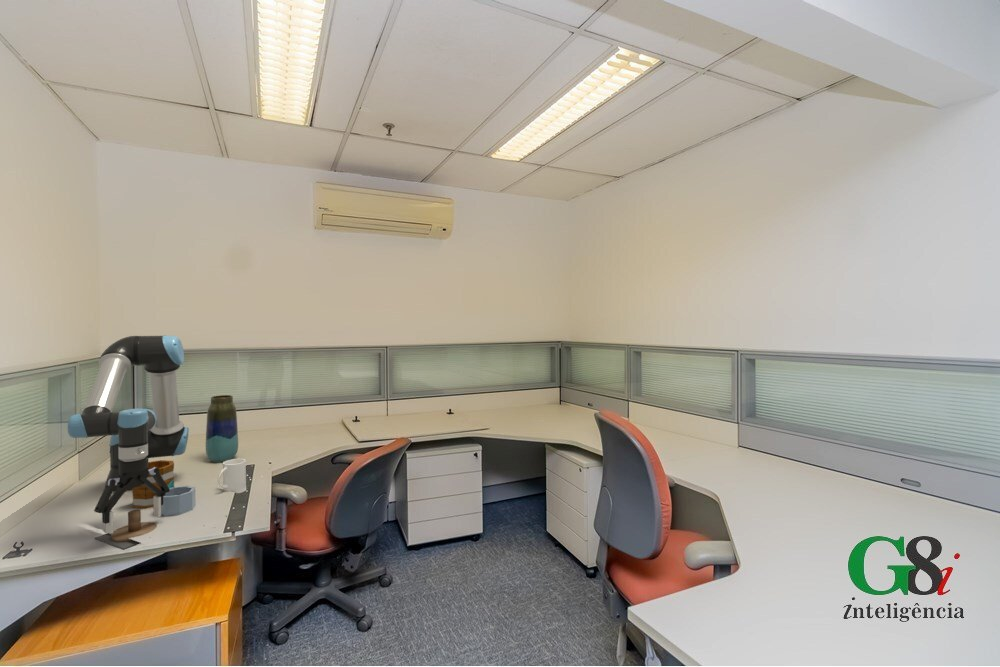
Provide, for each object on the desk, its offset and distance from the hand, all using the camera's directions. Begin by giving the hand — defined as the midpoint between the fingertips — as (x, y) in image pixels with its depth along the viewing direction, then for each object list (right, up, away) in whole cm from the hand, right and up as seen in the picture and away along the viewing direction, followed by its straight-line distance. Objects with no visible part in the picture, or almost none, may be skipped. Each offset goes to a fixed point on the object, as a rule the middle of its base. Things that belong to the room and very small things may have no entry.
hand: (134, 524), depth 151 cm
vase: (-19, -1, +80) cm, 83 cm away
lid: (0, -3, 0) cm, 3 cm away
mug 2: (+9, -3, +38) cm, 39 cm away
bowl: (+2, -3, +17) cm, 17 cm away
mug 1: (-12, -3, +27) cm, 29 cm away
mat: (0, -4, 0) cm, 4 cm away
